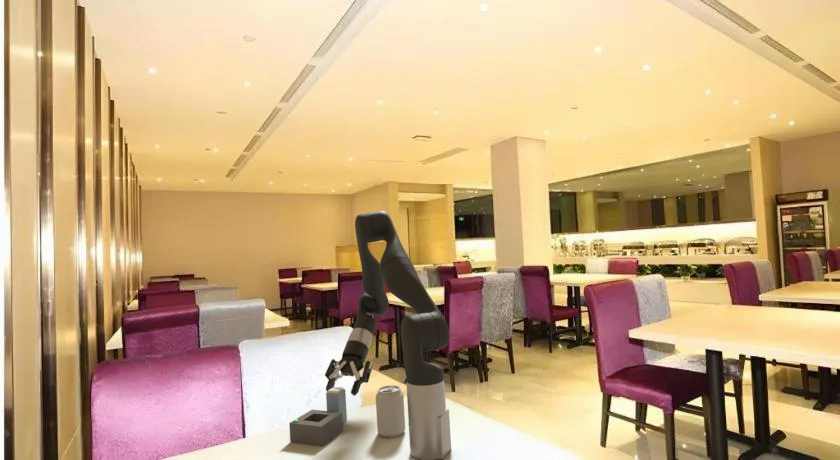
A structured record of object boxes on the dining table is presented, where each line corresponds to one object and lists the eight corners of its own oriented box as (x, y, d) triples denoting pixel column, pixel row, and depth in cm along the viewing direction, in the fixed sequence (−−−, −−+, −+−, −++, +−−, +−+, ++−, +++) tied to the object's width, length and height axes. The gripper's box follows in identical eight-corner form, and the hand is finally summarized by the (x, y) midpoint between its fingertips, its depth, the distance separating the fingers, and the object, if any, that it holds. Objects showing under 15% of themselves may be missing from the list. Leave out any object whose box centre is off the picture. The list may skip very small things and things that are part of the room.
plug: (346, 420, 133) (345, 387, 134) (339, 425, 130) (337, 391, 130) (335, 419, 135) (333, 386, 135) (327, 424, 131) (325, 390, 132)
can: (372, 436, 121) (369, 390, 121) (387, 425, 127) (384, 382, 128) (396, 440, 117) (393, 393, 118) (410, 429, 124) (408, 385, 124)
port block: (342, 430, 126) (341, 411, 126) (322, 446, 117) (321, 424, 117) (312, 427, 130) (311, 408, 130) (290, 442, 120) (289, 421, 120)
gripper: (334, 338, 146) (314, 385, 135) (373, 339, 141) (356, 388, 130) (343, 351, 151) (325, 397, 140) (382, 352, 145) (366, 401, 134)
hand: (340, 393), depth 135 cm, fingers open, 8 cm apart
